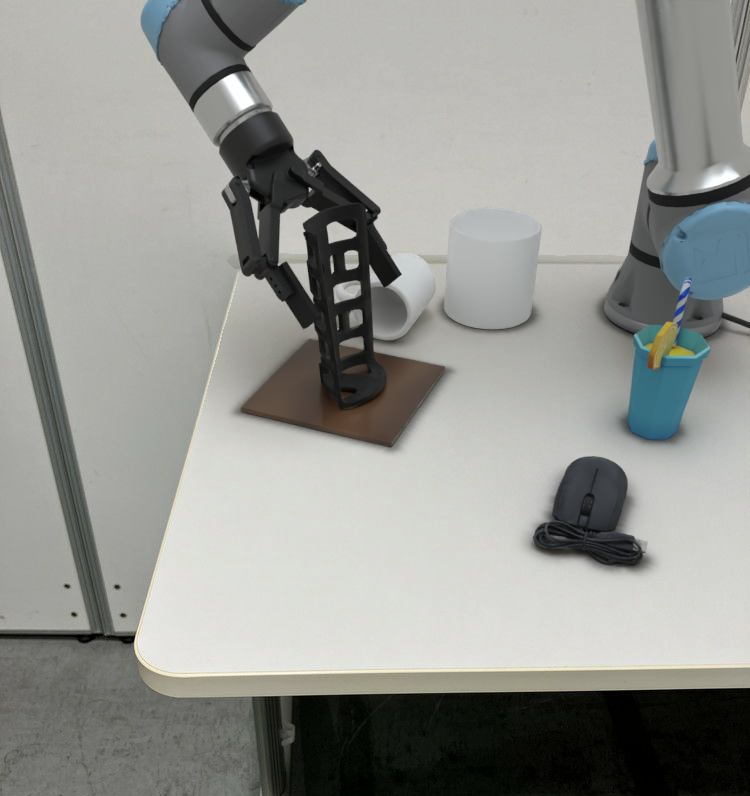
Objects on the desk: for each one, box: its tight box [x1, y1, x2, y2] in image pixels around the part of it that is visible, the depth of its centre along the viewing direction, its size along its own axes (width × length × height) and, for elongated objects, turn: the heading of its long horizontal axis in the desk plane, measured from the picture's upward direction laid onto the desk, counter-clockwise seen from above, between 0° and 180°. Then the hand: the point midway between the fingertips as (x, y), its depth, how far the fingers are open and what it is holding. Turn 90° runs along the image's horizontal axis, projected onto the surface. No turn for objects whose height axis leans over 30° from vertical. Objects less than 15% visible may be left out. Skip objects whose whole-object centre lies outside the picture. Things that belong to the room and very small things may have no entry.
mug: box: [335, 252, 437, 341], centre depth 119 cm, size 12×10×8 cm
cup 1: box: [443, 207, 543, 330], centre depth 121 cm, size 12×12×12 cm
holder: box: [302, 203, 387, 409], centre depth 101 cm, size 11×8×20 cm
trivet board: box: [240, 338, 446, 448], centre depth 107 cm, size 18×18×1 cm
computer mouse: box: [532, 455, 649, 566], centre depth 88 cm, size 10×15×4 cm
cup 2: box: [626, 277, 711, 441], centre depth 98 cm, size 14×8×15 cm, turn 158°
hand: (354, 301), depth 99 cm, fingers open, 13 cm apart
